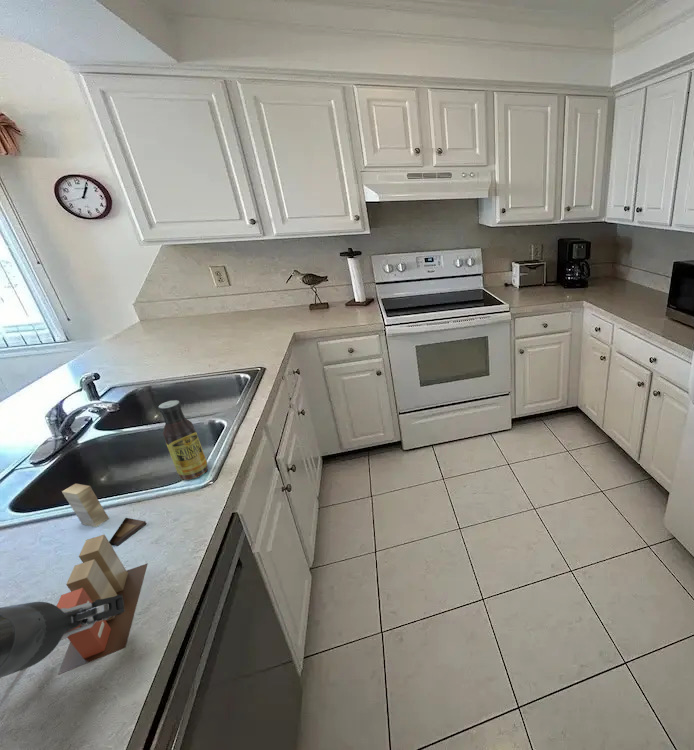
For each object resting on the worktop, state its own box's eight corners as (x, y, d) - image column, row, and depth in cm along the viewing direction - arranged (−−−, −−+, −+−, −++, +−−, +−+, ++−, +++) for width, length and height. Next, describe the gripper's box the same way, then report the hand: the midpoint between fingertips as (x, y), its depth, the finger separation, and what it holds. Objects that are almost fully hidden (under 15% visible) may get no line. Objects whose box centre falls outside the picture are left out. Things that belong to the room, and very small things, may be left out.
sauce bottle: (187, 484, 100) (156, 414, 91) (175, 476, 103) (143, 407, 94) (215, 469, 105) (188, 402, 96) (203, 462, 108) (175, 395, 99)
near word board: (59, 678, 61) (21, 633, 56) (95, 584, 75) (66, 542, 71) (127, 650, 64) (96, 605, 60) (149, 566, 79) (125, 524, 74)
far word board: (117, 545, 83) (93, 505, 79) (73, 536, 86) (47, 496, 81) (146, 523, 88) (125, 484, 84) (103, 515, 91) (81, 477, 86)
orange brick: (83, 659, 63) (50, 617, 58) (91, 636, 66) (60, 595, 61) (105, 650, 64) (74, 608, 59) (111, 628, 67) (83, 587, 63)
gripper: (78, 581, 52) (135, 575, 66) (-90, 638, 46) (12, 618, 60) (84, 645, 50) (141, 624, 64) (-91, 713, 44) (15, 673, 58)
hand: (79, 621), depth 62 cm, fingers open, 8 cm apart
